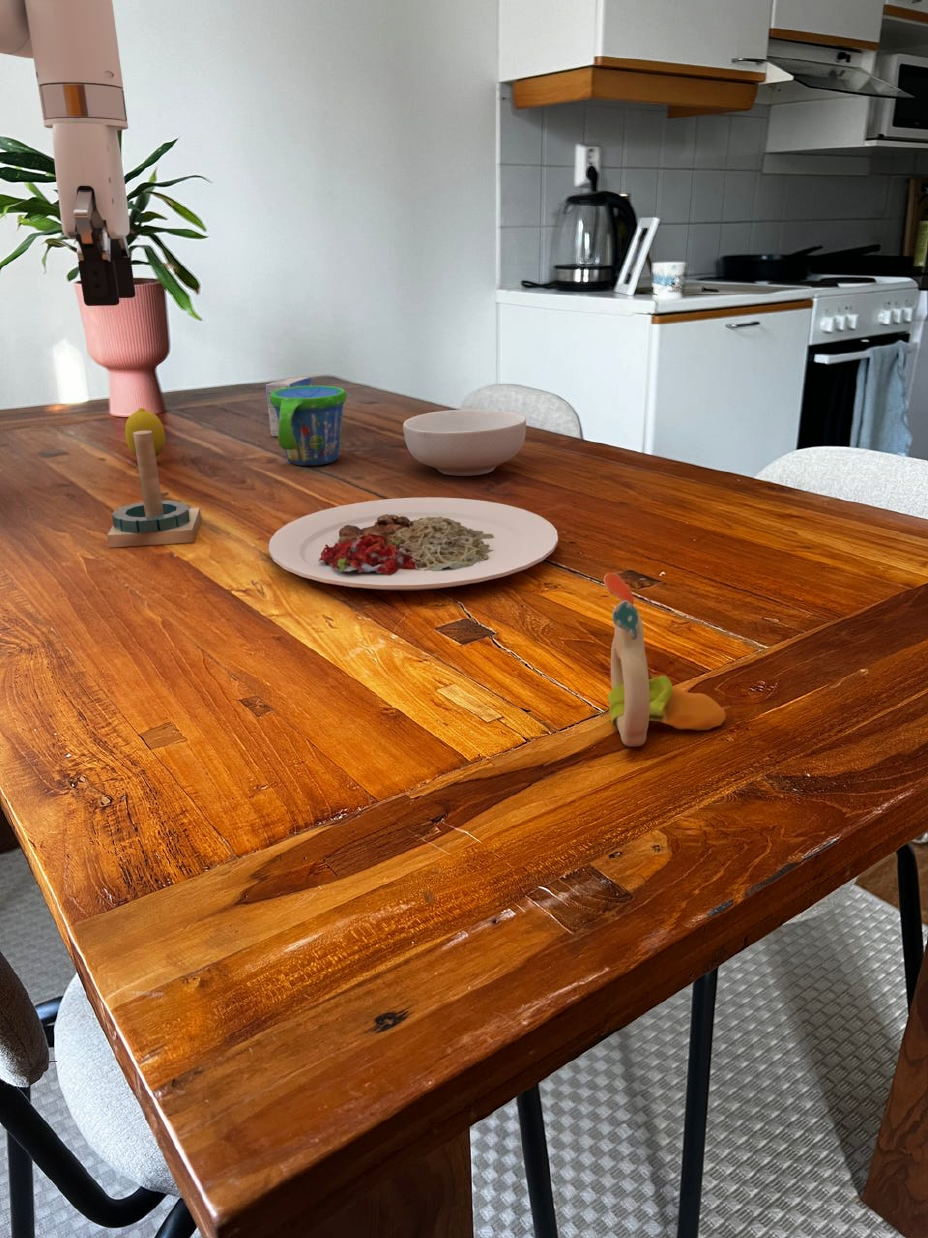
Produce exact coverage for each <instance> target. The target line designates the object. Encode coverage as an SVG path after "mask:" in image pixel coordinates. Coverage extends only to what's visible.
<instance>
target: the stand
mask: <svg viewBox="0 0 928 1238" xmlns="http://www.w3.org/2000/svg"><path fill="white" fill-rule="evenodd" d="M133 436H134V443H135V449H136V455H135V457H136V462H137V469H138V475H139V482H140V489H141V495H142V502H143V503H144V510H145V517H155V516H161V515H164V512H163V505H162V500H163V499H162V498H163V497H162V492H161V484H160V477H159V469H158V463H157V456H156V455H155V448H154V441H153V434H152V431H137V432H134V433H133ZM190 513H191V519H190V522H189V523H187V524H185V525H183V526H181V527H177V528H175V529H170V530H165V531H159V530H158V532H151V533H140V532H138V533H131V532H123V531H120V530H118V529H116V528H115V527H114V525H112V526H111V527H110V529H109V531H108V532H107V534H106V537H107V543H108V548H111V549H112V548H128V547H129V548H130V547H142V546H144V547H145V546H159V545H175V544H189V543H190V544H191V543H195V541H196V537H197V533H198V531H199V528H200V525H201V522H202V512H201V508H200V507H190Z"/></svg>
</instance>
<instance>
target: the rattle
mask: <svg viewBox="0 0 928 1238" xmlns="http://www.w3.org/2000/svg"><path fill="white" fill-rule="evenodd" d="M603 584H604V586H605V588H606V590H607V592H609V594H611V595H613V596H614V597H617V599H619V600H620V602H619V603H618V604H617V605H615V608H613V611H612V616H611V618H612V622H613V624H614V631H613V633H614V635H613V639H612V642H611V648H610V683H611V690H610V692H609V693H608V694H607V701H608V705H609V706H608V707H609V710H608V713H609V715H610V721H611V725H612V726H613V727H614V728H617V729H618V732H619V734H620V739H621V743H622V744H623V745H624V746H625V747H631V748H635V747H636V748H637V747H641V746H643V745H644V744H645V742H646V741H647V733H648V729H649V722H660V723H661V724H665V725H666V726H667V725H668V726H671V727H673V728H674V729H677V730H683V731H685V730H690V731H691V730H692V731H708V730H709V731H710V730H711V729H713V728H716V727H721V726H722V725H723V723H724V722H725V720H726V717H727V716H726V711H725V710H724V708H723V707H722V706H720V705H719V704H718V703H717V702H716V701H715V700H714V699H713V698H712V697H710V696H709V695H707V694H704V693H701V692H696V693H695V692H687V691H685V690H682V689H679V688H677V687H674V686H673V684H672V681H671V680H670V678H669V677H668V676H666V675H659V676H656V677H653V678H650V679H649V677H650V676H649V669H648V661H647V656H646V650H645V649H646V648H645V636H644V626H643V621H642V617H641V615H640V613H639V610H638V608H637V607H636V606H635V605H634V604H635V601H634V595H633V593H632V590H631V589H630V588H629V586H628V585H627V583H626V582H625V581H624V580H623V578H622V577H620V575H619V574H618V573H616V572H607V573H606V574H605V575H604V576H603Z"/></svg>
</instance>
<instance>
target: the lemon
mask: <svg viewBox="0 0 928 1238" xmlns="http://www.w3.org/2000/svg"><path fill="white" fill-rule="evenodd" d="M137 431H152V434H153V441H154V448H155V455H156V457H158V456H160V454H161V453H163V450H164V449H165V447H166V446H165V445H166V432H165V429H164V425H163V423H162V421H161V419H160V418H159V417H158V416H157V415H156V414H155V413H154V412H152V411H150V410H146V409H145V408H144V407H140V408H138V409H137V410H136V411H135V412H133V413H131V414H130V415H129V417H128V418H127V419H126V423H125V429H124V437H125V442H126V445H127V447H128V449H129V451H130V452H131V453H132V454H133V455H134V456H136V449H135V443H134V436H133V433H134V432H137Z"/></svg>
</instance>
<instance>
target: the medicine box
mask: <svg viewBox="0 0 928 1238" xmlns="http://www.w3.org/2000/svg"><path fill="white" fill-rule="evenodd" d="M312 382H313V381H312V378H311V377H309V376H307V377H306V376H290V377H286V378H283V379H280V380H276V381H273V382H270V383H267V384H265V390H266V399H267V400H266V401H267V409H268V418H269V429H270V436H271V437H275V438H278V430H279V422H278V419H277V413H276V410H275V408H274V406H273V404H271V401H270V395H271V393H272V392H273V391H276V390H279V389H283V388H289V387H297V386H313V385H312Z"/></svg>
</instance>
